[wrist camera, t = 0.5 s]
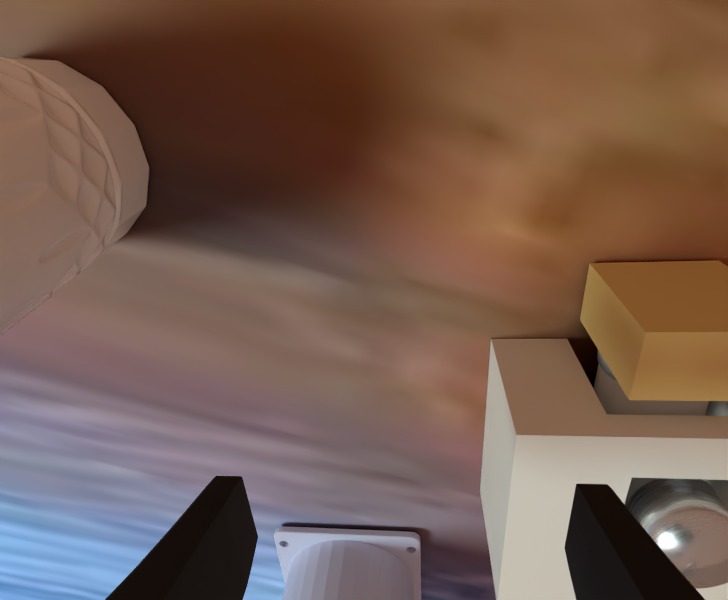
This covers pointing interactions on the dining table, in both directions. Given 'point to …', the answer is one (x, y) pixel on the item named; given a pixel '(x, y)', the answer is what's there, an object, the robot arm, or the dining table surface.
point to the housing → (572, 460)
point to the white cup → (60, 179)
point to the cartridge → (658, 337)
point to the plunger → (686, 527)
